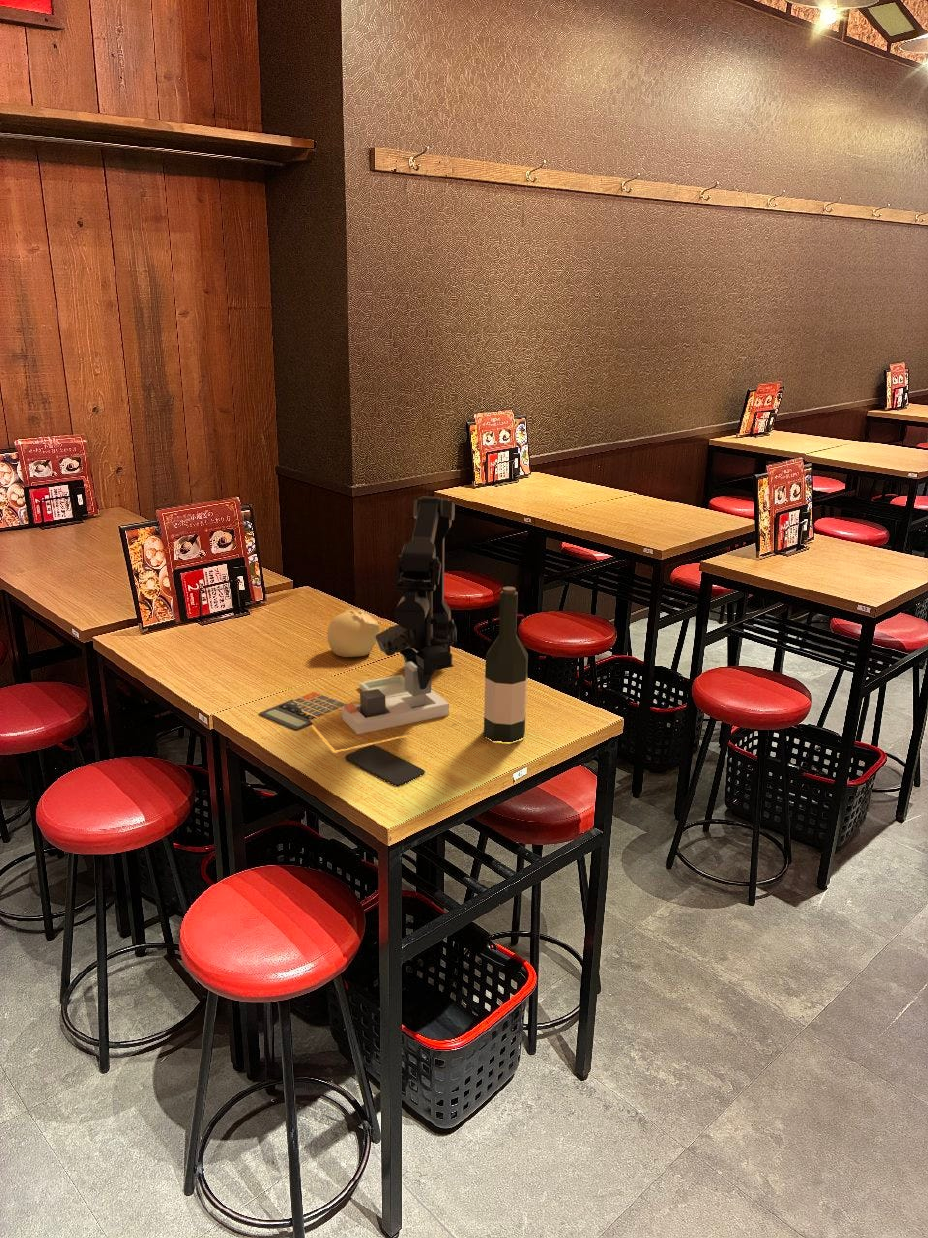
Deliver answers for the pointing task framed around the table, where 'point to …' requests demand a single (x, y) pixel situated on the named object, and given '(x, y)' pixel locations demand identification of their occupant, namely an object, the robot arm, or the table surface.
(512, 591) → the wine bottle
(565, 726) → the table surface
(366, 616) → the beige round lump
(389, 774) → the phone
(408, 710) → the power strip
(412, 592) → the robot arm
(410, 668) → the plug
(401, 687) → the tray
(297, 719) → the calculator
